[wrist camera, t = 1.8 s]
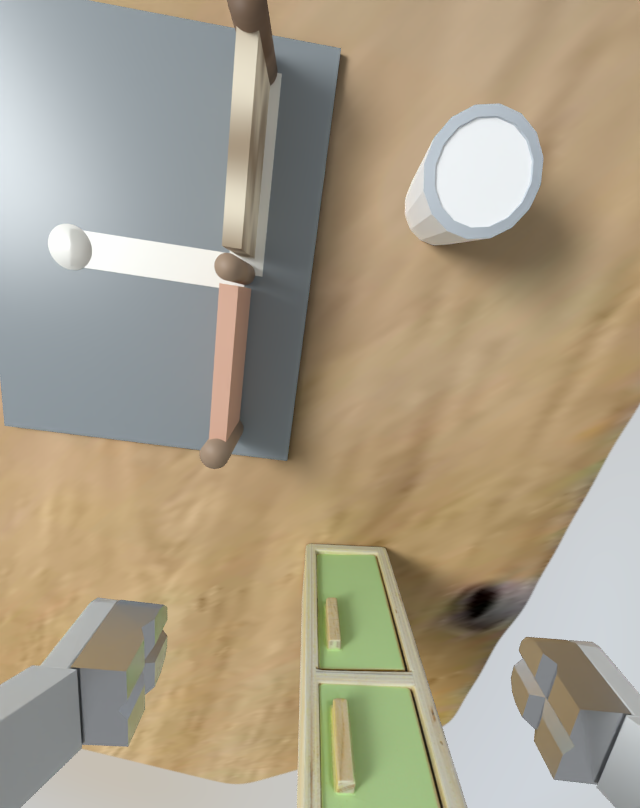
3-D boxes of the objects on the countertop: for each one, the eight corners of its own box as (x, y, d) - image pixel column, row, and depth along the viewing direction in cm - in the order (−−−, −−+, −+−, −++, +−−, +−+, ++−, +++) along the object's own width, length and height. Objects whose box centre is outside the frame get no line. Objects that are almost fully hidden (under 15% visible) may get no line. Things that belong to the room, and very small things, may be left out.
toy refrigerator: (389, 539, 35) (492, 861, 15) (380, 601, 37) (460, 960, 17) (306, 534, 35) (297, 857, 15) (301, 597, 37) (288, 958, 17)
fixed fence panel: (248, 49, 24) (228, -30, 18) (279, 55, 24) (268, -22, 18) (233, 255, 27) (212, 243, 22) (259, 259, 28) (245, 248, 22)
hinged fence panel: (232, 260, 27) (211, 250, 22) (258, 264, 27) (245, 255, 22) (218, 437, 31) (198, 466, 26) (242, 440, 31) (227, 470, 26)
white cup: (378, 194, 27) (399, 158, 20) (457, 130, 26) (508, 70, 19) (427, 273, 29) (462, 264, 22) (504, 215, 28) (565, 188, 21)
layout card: (-30, -17, 23) (-38, -25, 23) (340, 53, 25) (341, 47, 24) (9, 423, 31) (4, 425, 31) (287, 458, 33) (286, 461, 32)
